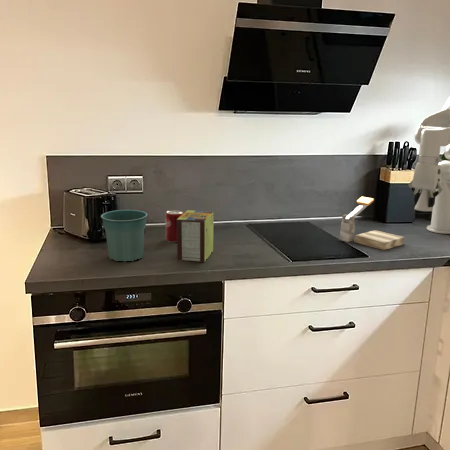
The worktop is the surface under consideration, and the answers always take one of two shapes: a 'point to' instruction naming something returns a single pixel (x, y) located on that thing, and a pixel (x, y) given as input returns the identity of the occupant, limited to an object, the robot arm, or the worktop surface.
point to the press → (368, 236)
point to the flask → (423, 201)
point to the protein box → (195, 235)
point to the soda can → (172, 224)
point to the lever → (360, 206)
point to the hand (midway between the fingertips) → (424, 205)
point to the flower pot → (125, 234)
